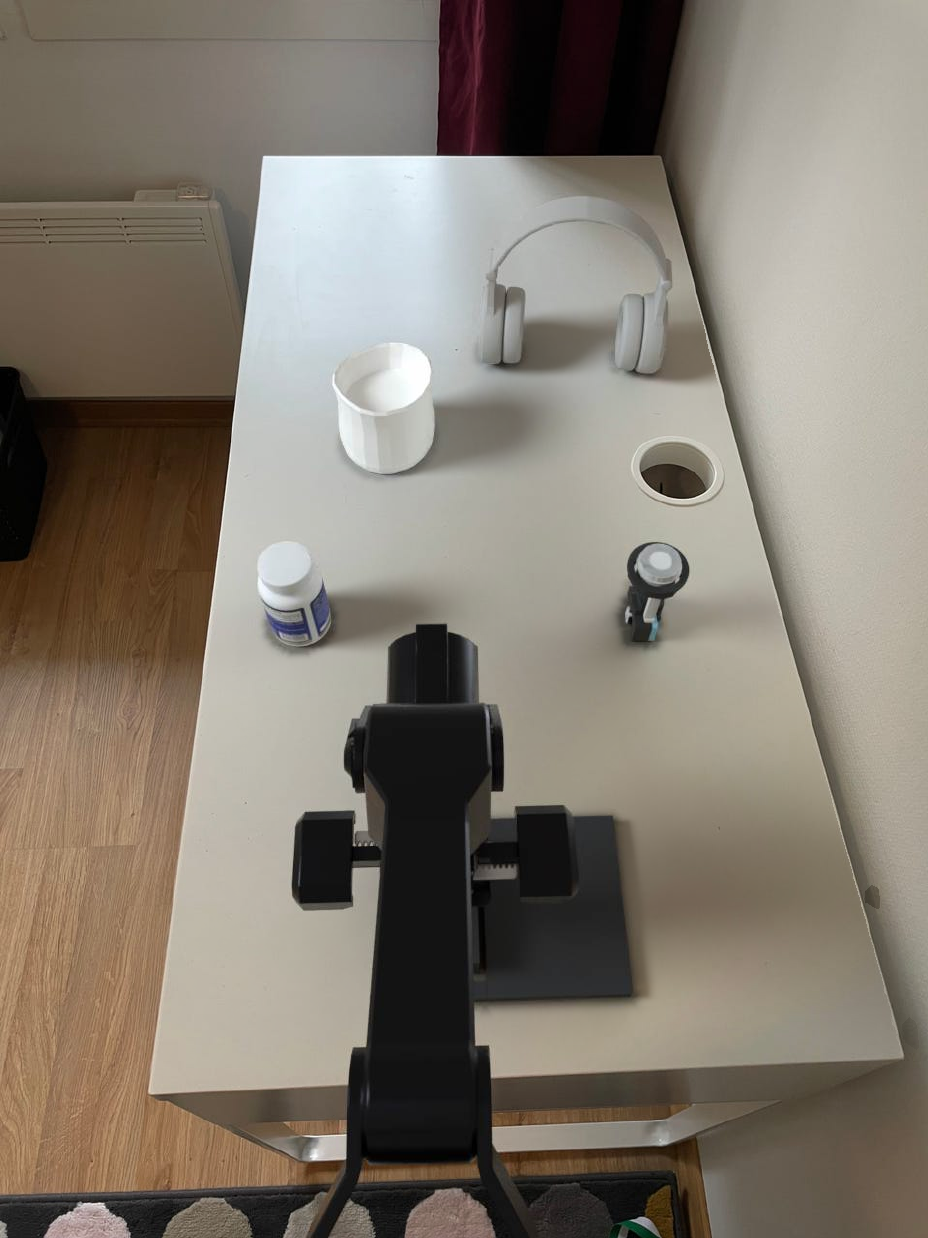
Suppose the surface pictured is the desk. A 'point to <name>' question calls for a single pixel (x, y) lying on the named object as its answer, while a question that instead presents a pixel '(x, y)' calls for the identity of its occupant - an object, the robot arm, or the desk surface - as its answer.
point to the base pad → (559, 928)
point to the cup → (385, 406)
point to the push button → (652, 585)
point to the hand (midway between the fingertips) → (437, 890)
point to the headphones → (637, 316)
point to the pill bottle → (293, 594)
